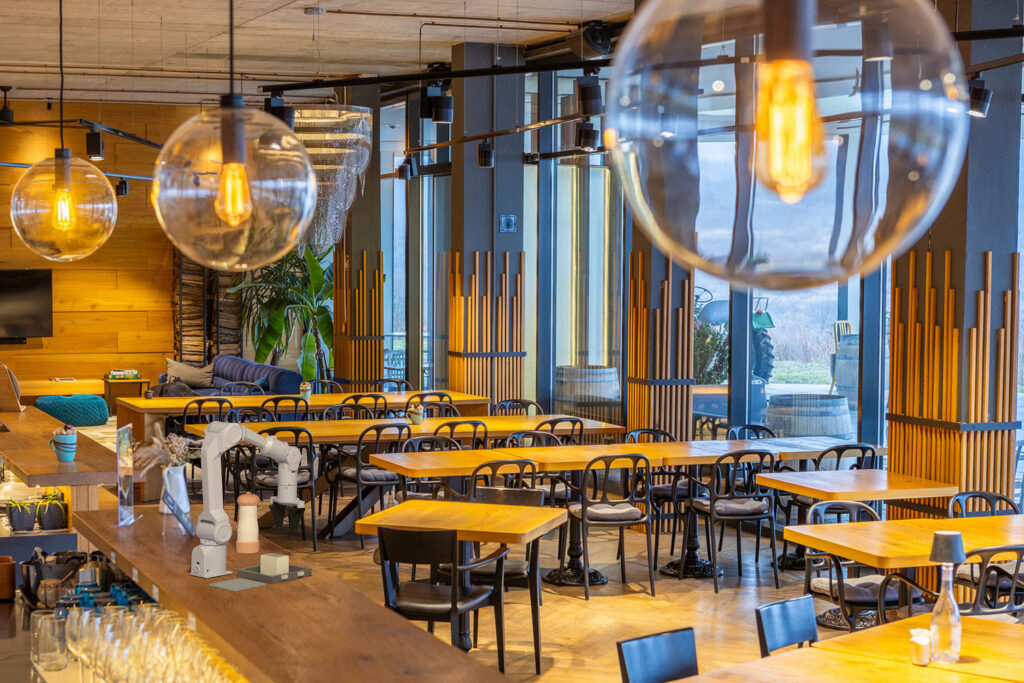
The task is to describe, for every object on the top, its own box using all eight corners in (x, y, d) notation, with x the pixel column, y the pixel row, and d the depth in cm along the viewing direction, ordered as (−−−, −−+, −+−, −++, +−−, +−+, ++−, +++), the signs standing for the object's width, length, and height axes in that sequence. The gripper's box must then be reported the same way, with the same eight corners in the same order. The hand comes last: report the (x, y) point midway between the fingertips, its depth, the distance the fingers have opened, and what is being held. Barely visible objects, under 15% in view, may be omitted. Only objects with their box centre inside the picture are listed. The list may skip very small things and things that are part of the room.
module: (276, 579, 325) (276, 557, 325) (260, 575, 329) (260, 554, 329) (288, 576, 329) (288, 555, 329) (272, 573, 333) (272, 552, 333)
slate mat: (234, 591, 308) (234, 590, 308) (208, 585, 315) (208, 584, 315) (265, 585, 317) (265, 583, 317) (240, 579, 324) (240, 577, 324)
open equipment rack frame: (272, 584, 318) (273, 577, 318) (236, 576, 328) (236, 569, 328) (313, 575, 330) (313, 569, 330) (277, 568, 340) (277, 561, 340)
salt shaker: (256, 553, 362) (257, 493, 362) (233, 553, 362) (234, 493, 362) (261, 549, 369) (262, 490, 369) (239, 549, 369) (240, 490, 369)
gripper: (312, 486, 349) (311, 530, 349) (283, 481, 359) (282, 524, 359) (294, 487, 344) (293, 532, 344) (265, 483, 353) (264, 527, 353)
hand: (286, 528), depth 351 cm, fingers open, 7 cm apart
